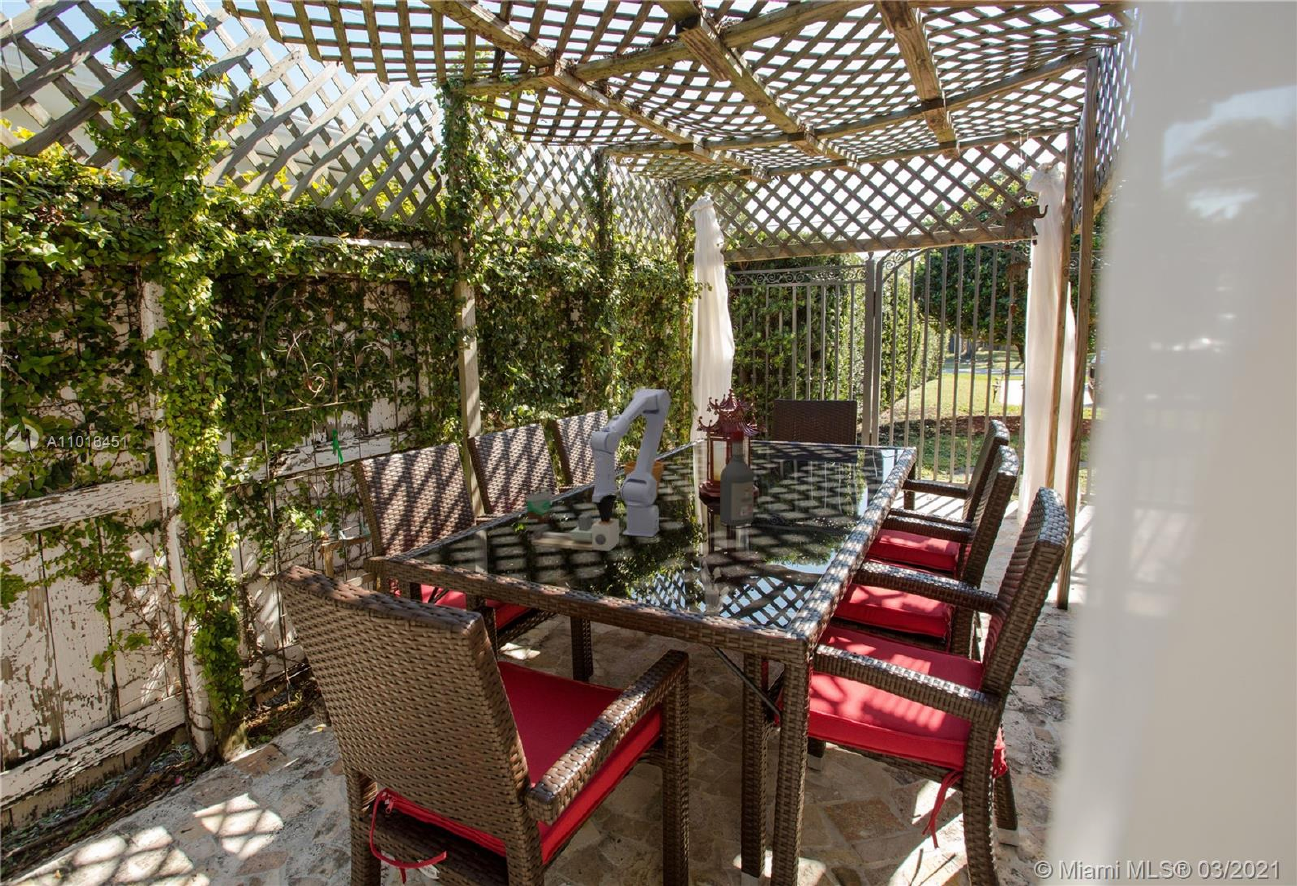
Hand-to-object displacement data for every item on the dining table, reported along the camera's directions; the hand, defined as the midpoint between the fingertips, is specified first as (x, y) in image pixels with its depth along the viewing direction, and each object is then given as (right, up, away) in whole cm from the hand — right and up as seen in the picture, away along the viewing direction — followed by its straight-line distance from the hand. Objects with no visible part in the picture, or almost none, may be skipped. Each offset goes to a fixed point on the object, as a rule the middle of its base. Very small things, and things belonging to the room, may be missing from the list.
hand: (605, 521), depth 189 cm
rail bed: (-11, -7, +5) cm, 14 cm away
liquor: (+40, -4, +22) cm, 46 cm away
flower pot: (+11, +1, +56) cm, 57 cm away
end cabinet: (0, -7, +1) cm, 7 cm away
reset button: (0, -2, 0) cm, 2 cm away
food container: (-22, -3, +28) cm, 35 cm away
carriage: (-6, -5, +3) cm, 9 cm away
